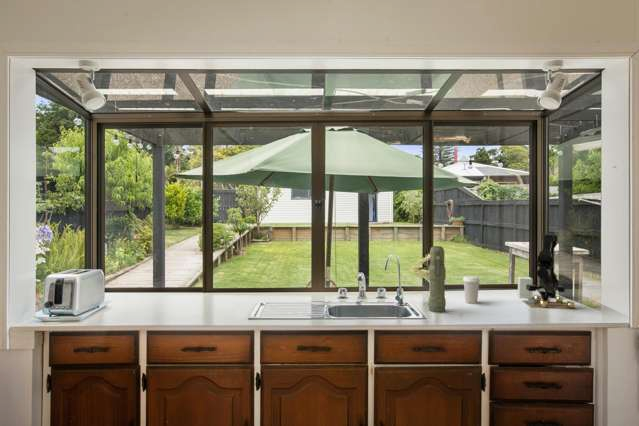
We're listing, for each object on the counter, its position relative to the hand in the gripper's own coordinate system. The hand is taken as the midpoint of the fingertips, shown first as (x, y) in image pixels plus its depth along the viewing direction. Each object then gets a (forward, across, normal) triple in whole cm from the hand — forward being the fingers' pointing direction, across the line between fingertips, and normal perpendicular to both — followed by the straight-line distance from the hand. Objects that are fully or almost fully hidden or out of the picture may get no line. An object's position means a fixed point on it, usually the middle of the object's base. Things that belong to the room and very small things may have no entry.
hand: (545, 303), depth 231 cm
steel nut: (+1, -6, 0) cm, 7 cm away
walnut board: (+2, +2, 0) cm, 2 cm away
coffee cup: (+2, -40, 0) cm, 40 cm away
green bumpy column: (+1, -62, -23) cm, 66 cm away
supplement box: (+2, -5, +19) cm, 20 cm away
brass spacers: (+1, +4, 0) cm, 4 cm away
